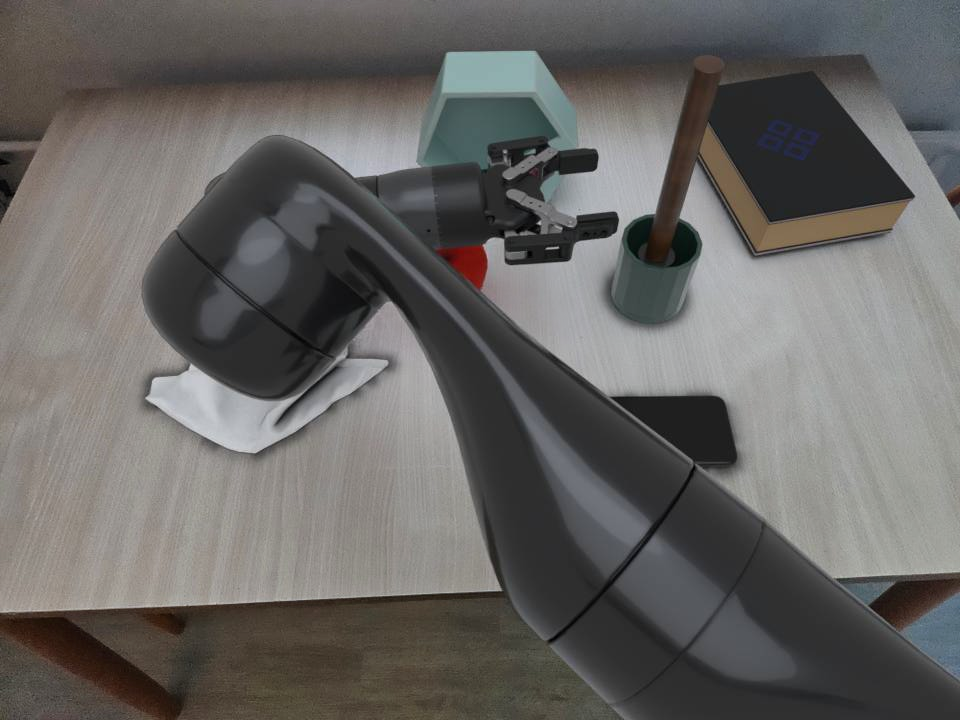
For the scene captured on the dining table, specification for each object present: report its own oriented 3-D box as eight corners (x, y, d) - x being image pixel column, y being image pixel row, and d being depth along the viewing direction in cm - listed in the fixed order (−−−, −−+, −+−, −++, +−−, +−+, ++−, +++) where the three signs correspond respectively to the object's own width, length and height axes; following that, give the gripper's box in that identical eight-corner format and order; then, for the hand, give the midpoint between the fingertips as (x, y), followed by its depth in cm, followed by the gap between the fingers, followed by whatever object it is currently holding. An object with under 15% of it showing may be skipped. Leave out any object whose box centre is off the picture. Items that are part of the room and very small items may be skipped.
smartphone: (722, 398, 67) (568, 399, 68) (724, 393, 66) (569, 395, 67) (738, 468, 63) (573, 469, 63) (741, 464, 62) (574, 465, 62)
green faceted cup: (697, 306, 74) (718, 252, 66) (637, 334, 72) (652, 282, 64) (655, 259, 78) (670, 204, 70) (597, 284, 76) (607, 230, 69)
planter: (488, 236, 87) (384, 130, 74) (490, 197, 92) (392, 89, 78) (600, 183, 79) (507, 51, 65) (597, 141, 83) (508, 9, 69)
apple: (399, 295, 76) (389, 250, 70) (452, 255, 80) (447, 208, 73) (451, 337, 73) (445, 293, 66) (505, 293, 76) (504, 247, 69)
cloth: (125, 447, 67) (114, 437, 65) (170, 339, 74) (162, 327, 72) (371, 461, 65) (366, 452, 63) (392, 349, 72) (389, 337, 70)
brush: (668, 301, 73) (742, 75, 50) (634, 305, 73) (691, 81, 50) (659, 275, 75) (725, 46, 52) (625, 278, 75) (676, 51, 52)
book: (795, 113, 92) (813, 70, 86) (887, 237, 78) (916, 196, 73) (678, 131, 91) (689, 89, 85) (752, 261, 77) (770, 220, 72)
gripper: (434, 235, 52) (632, 213, 52) (423, 125, 60) (595, 107, 60) (442, 294, 58) (619, 274, 59) (431, 188, 66) (587, 170, 67)
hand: (606, 189), depth 59 cm, fingers open, 8 cm apart
